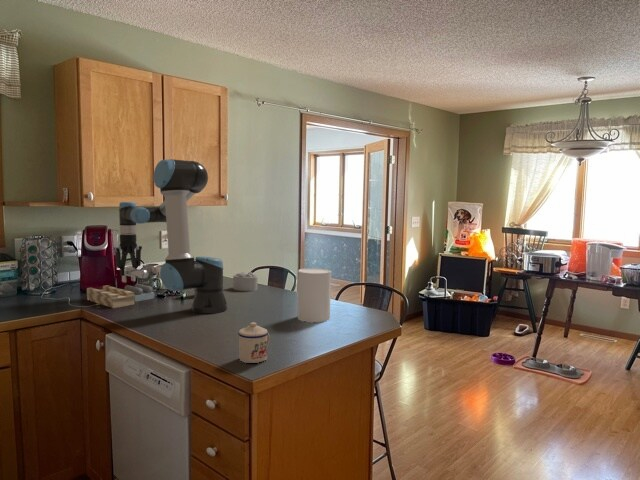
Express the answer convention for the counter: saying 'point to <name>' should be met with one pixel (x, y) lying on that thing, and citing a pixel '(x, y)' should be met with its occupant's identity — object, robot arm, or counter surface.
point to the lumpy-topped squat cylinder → (245, 282)
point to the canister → (314, 294)
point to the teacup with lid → (253, 343)
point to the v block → (141, 292)
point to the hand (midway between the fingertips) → (128, 281)
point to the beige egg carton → (111, 296)
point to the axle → (136, 273)
